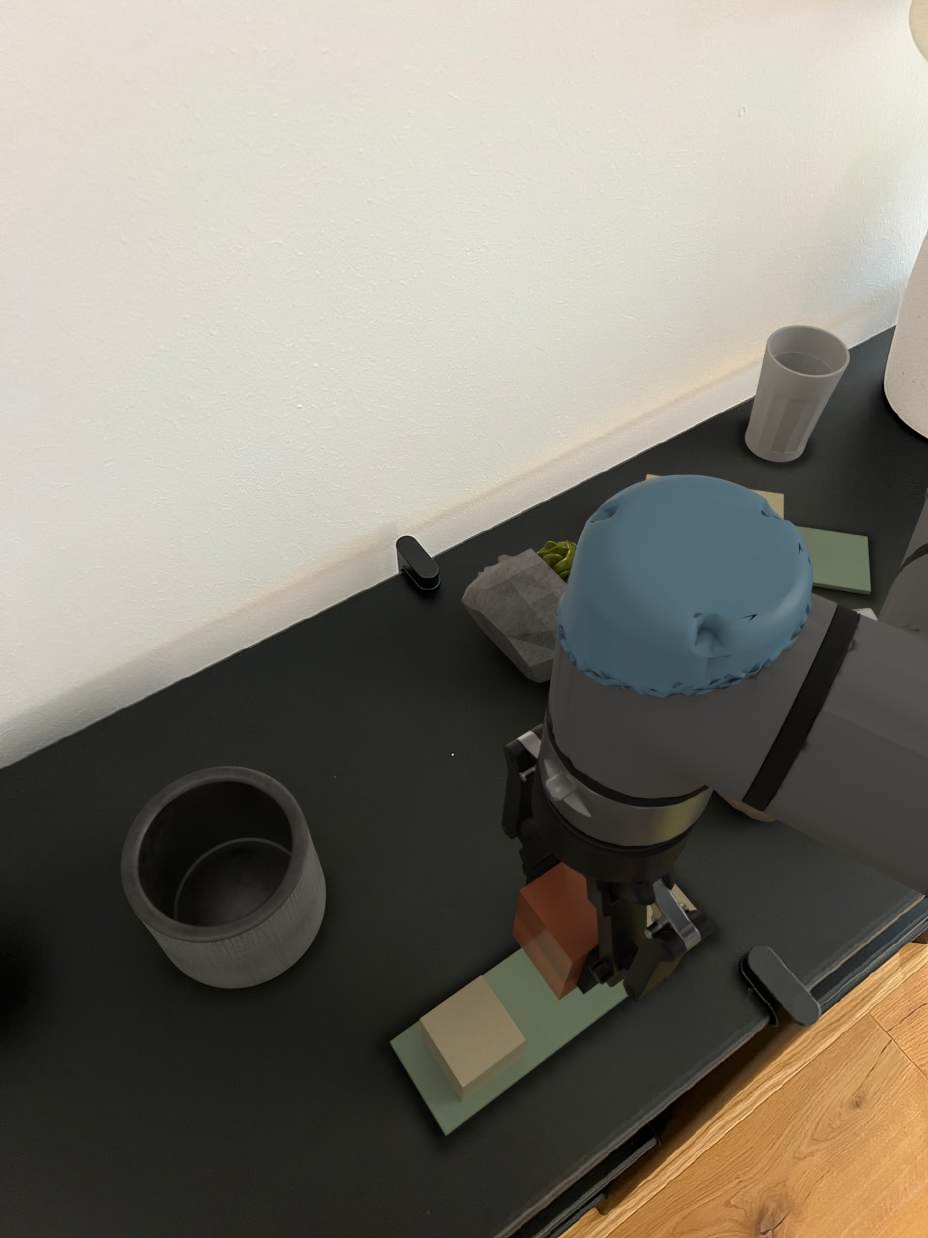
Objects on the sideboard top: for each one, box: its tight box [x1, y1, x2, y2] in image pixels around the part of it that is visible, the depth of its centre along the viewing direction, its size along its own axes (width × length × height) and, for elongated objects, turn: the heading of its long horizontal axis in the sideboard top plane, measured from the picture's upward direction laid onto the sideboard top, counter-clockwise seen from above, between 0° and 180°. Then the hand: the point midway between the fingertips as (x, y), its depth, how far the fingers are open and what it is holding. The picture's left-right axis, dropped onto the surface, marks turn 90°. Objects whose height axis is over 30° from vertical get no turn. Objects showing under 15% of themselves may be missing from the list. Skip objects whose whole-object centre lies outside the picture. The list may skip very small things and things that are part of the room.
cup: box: [744, 324, 851, 463], centre depth 98 cm, size 8×8×12 cm
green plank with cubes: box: [389, 883, 698, 1137], centre depth 67 cm, size 24×7×6 cm, turn 125°
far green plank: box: [645, 473, 872, 596], centre depth 91 cm, size 24×7×6 cm, turn 79°
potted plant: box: [461, 539, 577, 684], centre depth 82 cm, size 12×13×15 cm
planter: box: [120, 765, 327, 990], centre depth 68 cm, size 12×13×11 cm
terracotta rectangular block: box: [511, 862, 599, 1000], centre depth 58 cm, size 5×5×8 cm
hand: (568, 938), depth 60 cm, fingers closed on terracotta rectangular block, 5 cm apart
